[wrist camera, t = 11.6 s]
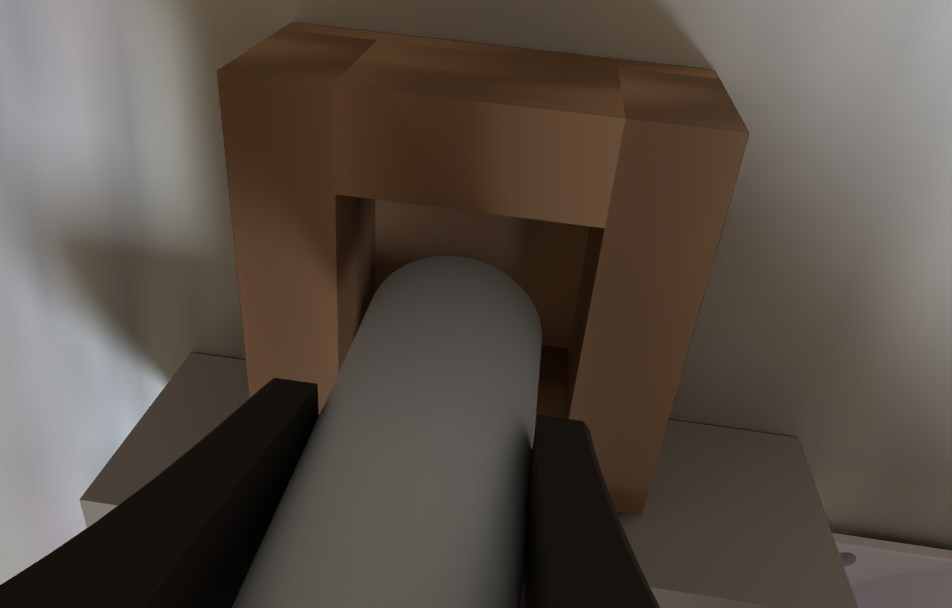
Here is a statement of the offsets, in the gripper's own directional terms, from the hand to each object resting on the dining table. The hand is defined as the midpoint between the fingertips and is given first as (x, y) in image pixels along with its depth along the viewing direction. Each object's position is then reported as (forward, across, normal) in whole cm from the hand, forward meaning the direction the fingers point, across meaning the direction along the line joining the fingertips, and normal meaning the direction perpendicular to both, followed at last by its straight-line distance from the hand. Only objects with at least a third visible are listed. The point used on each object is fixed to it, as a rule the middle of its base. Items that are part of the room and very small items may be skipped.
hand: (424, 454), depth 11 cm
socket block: (+7, 0, 0) cm, 7 cm away
